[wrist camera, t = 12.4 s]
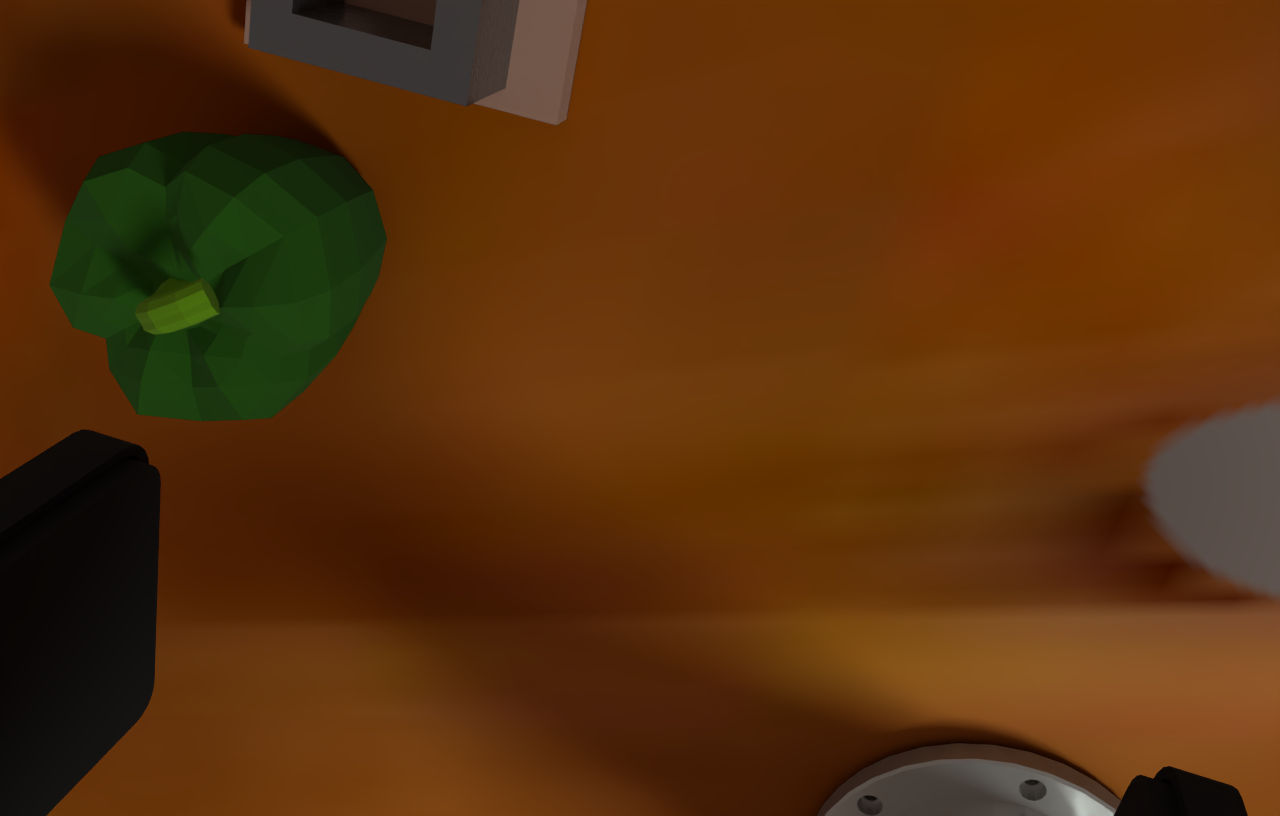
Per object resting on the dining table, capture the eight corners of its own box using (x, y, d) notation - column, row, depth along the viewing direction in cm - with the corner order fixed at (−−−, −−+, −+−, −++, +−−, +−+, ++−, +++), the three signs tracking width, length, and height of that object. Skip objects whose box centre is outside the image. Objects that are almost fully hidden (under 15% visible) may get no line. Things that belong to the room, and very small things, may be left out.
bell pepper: (211, 340, 42) (13, 463, 33) (174, 100, 39) (-57, 165, 30) (436, 359, 40) (290, 494, 31) (417, 110, 37) (249, 181, 28)
